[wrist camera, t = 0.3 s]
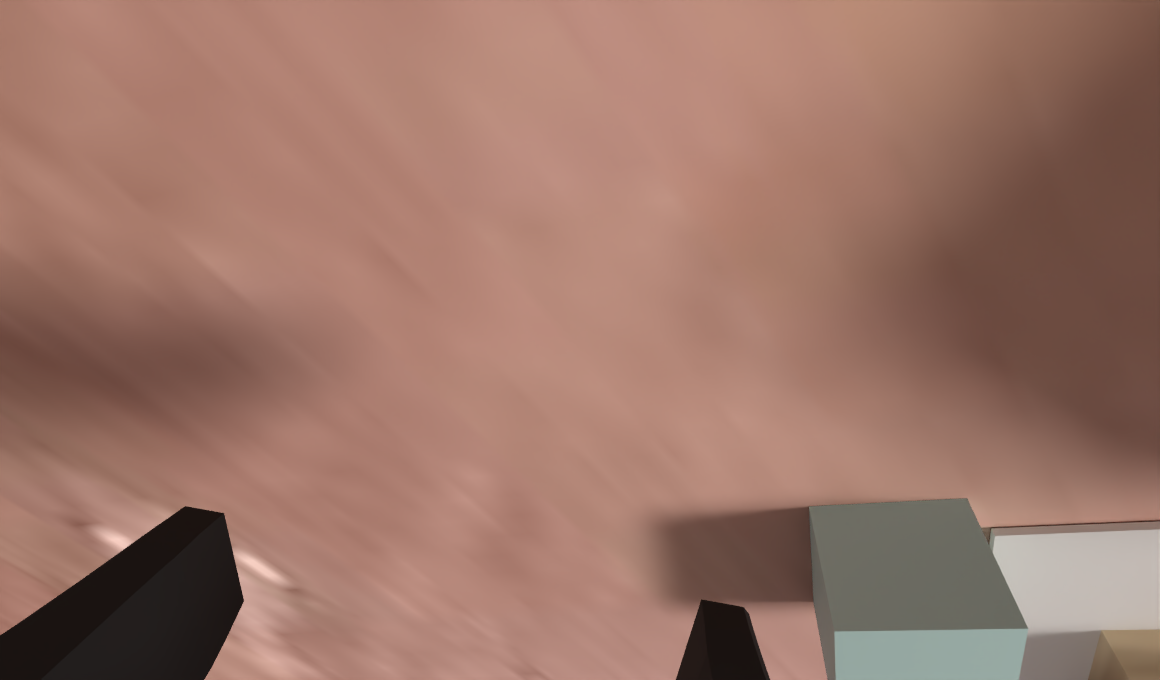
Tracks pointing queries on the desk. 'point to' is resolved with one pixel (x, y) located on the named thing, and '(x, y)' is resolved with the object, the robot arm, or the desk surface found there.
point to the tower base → (1127, 655)
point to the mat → (1078, 589)
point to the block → (911, 594)
